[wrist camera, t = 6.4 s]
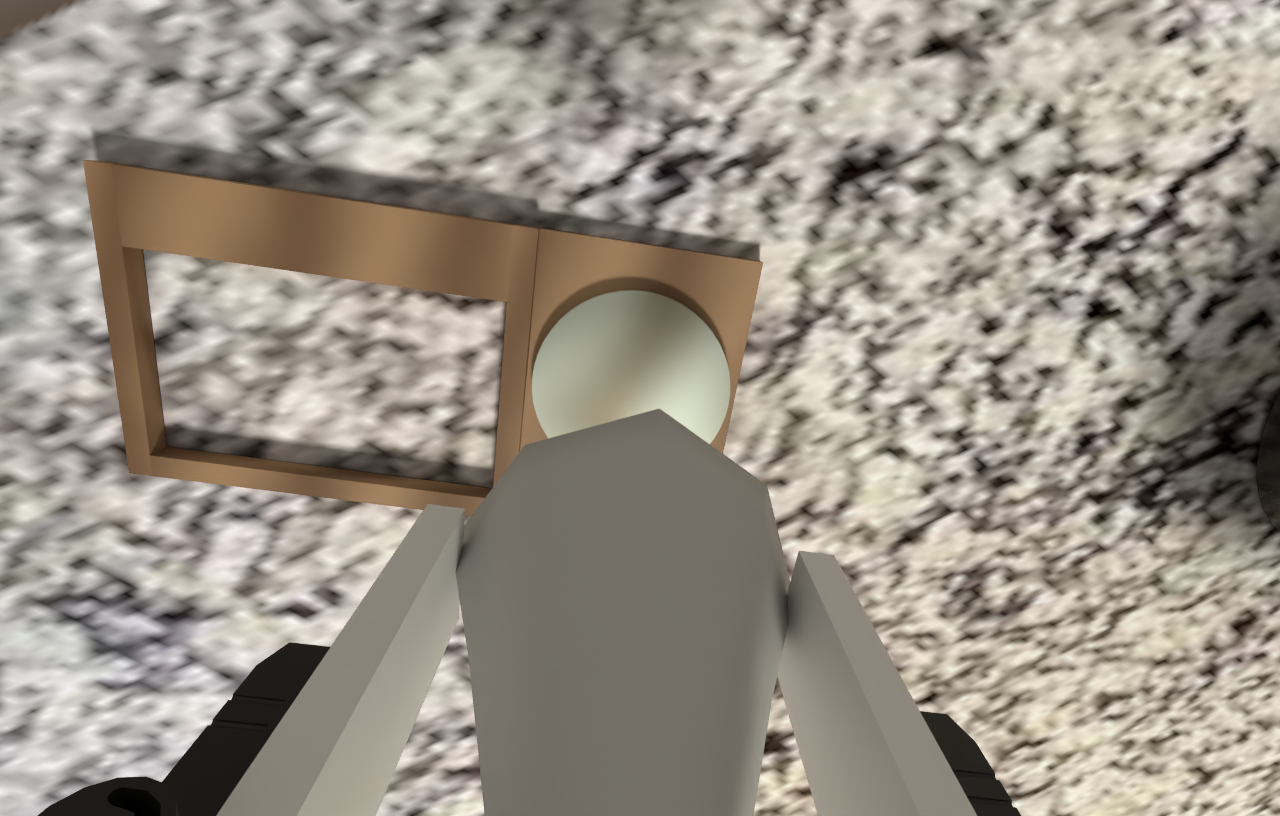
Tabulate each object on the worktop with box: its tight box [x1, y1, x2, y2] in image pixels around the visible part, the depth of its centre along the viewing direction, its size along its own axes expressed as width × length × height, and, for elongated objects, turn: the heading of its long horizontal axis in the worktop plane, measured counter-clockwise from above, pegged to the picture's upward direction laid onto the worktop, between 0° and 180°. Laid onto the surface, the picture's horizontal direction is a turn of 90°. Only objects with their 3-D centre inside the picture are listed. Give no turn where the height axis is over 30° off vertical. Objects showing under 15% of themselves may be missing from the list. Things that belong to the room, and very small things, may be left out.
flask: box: [456, 408, 790, 816], centre depth 9 cm, size 7×7×10 cm
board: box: [83, 160, 763, 516], centre depth 26 cm, size 26×13×1 cm, turn 82°
